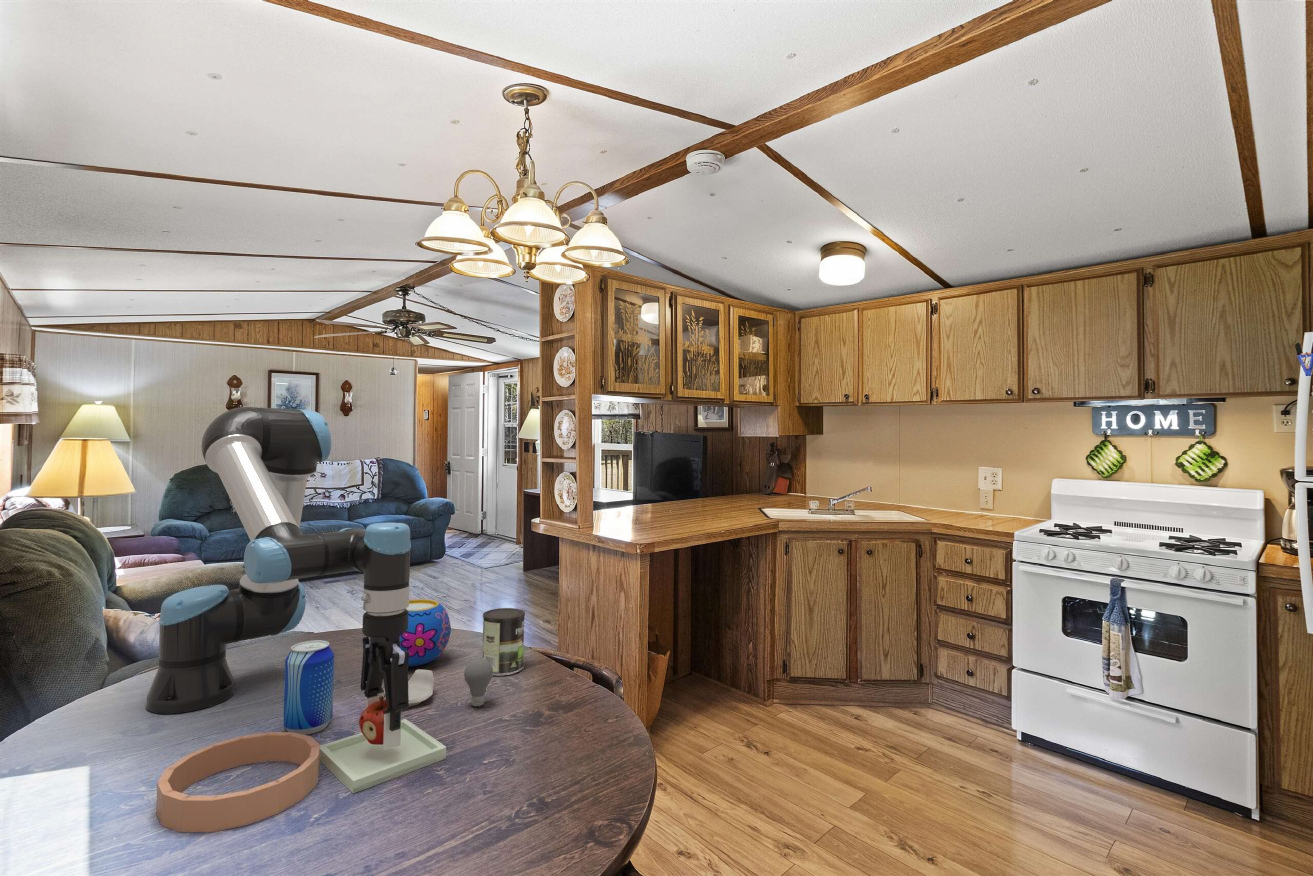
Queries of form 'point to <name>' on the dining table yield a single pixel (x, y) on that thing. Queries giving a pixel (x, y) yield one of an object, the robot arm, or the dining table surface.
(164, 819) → the ring band
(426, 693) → the pottery shard
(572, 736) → the dining table surface
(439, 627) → the ceramic pot
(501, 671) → the coffee can
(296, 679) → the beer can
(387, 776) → the tray
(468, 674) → the light bulb
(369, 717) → the apple
